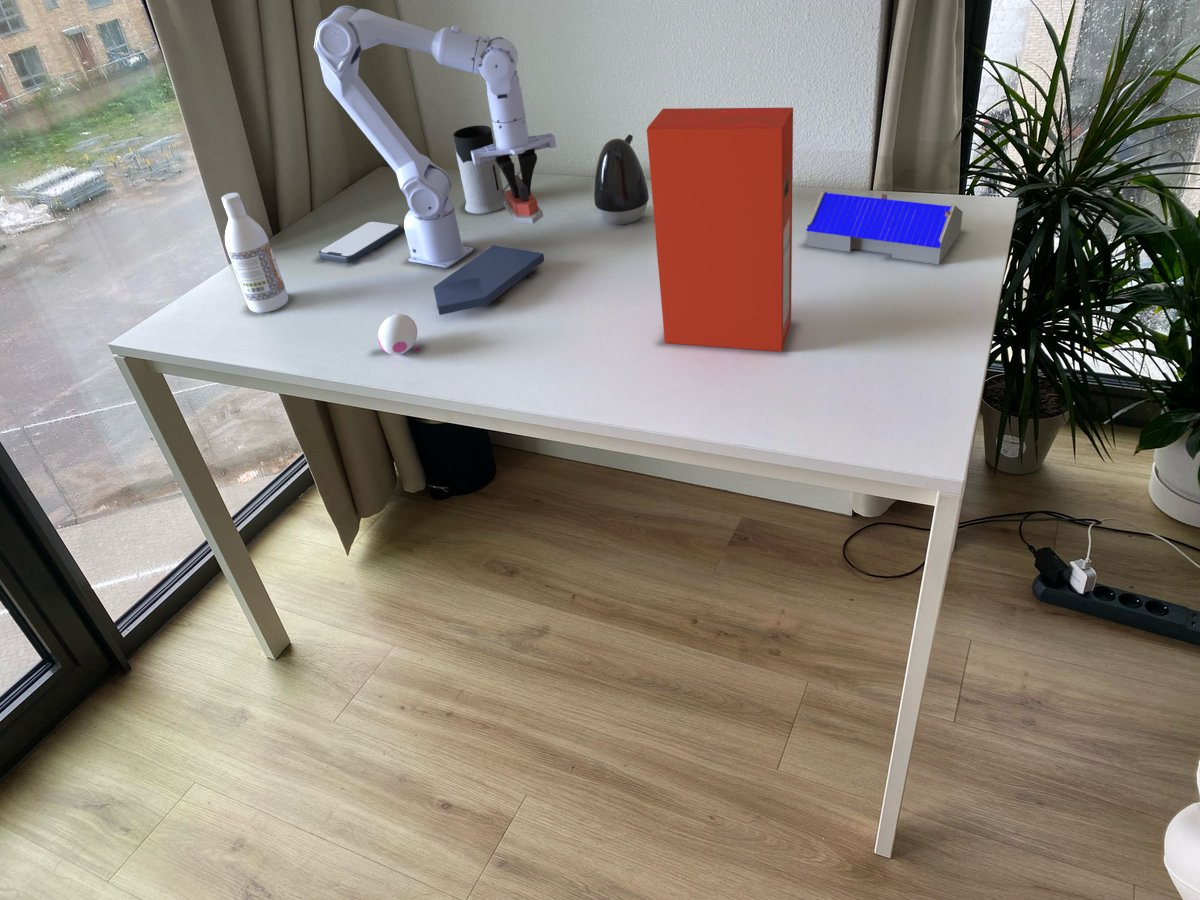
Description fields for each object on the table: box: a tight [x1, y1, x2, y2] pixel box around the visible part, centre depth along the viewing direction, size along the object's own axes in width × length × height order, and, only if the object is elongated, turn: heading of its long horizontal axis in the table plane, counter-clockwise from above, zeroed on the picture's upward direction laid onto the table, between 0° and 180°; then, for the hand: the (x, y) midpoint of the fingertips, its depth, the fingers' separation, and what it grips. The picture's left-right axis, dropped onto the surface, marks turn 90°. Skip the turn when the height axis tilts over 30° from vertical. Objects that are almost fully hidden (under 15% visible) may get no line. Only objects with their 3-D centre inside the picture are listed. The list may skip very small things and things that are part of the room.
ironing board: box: [432, 244, 545, 316], centre depth 157 cm, size 11×22×3 cm, turn 149°
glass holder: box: [452, 124, 521, 215], centre depth 185 cm, size 9×14×15 cm, turn 82°
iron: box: [503, 174, 544, 225], centre depth 164 cm, size 11×5×6 cm, turn 19°
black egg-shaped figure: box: [593, 134, 650, 225], centre depth 172 cm, size 10×10×15 cm
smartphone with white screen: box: [318, 220, 403, 264], centre depth 180 cm, size 9×2×16 cm
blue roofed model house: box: [805, 190, 964, 265], centre depth 155 cm, size 22×14×7 cm, turn 58°
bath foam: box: [221, 192, 289, 314], centre depth 158 cm, size 7×7×20 cm
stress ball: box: [377, 313, 420, 356], centre depth 144 cm, size 8×8×7 cm
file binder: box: [646, 106, 794, 353], centre depth 128 cm, size 8×17×32 cm, turn 71°
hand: (521, 195), depth 164 cm, fingers closed on iron
